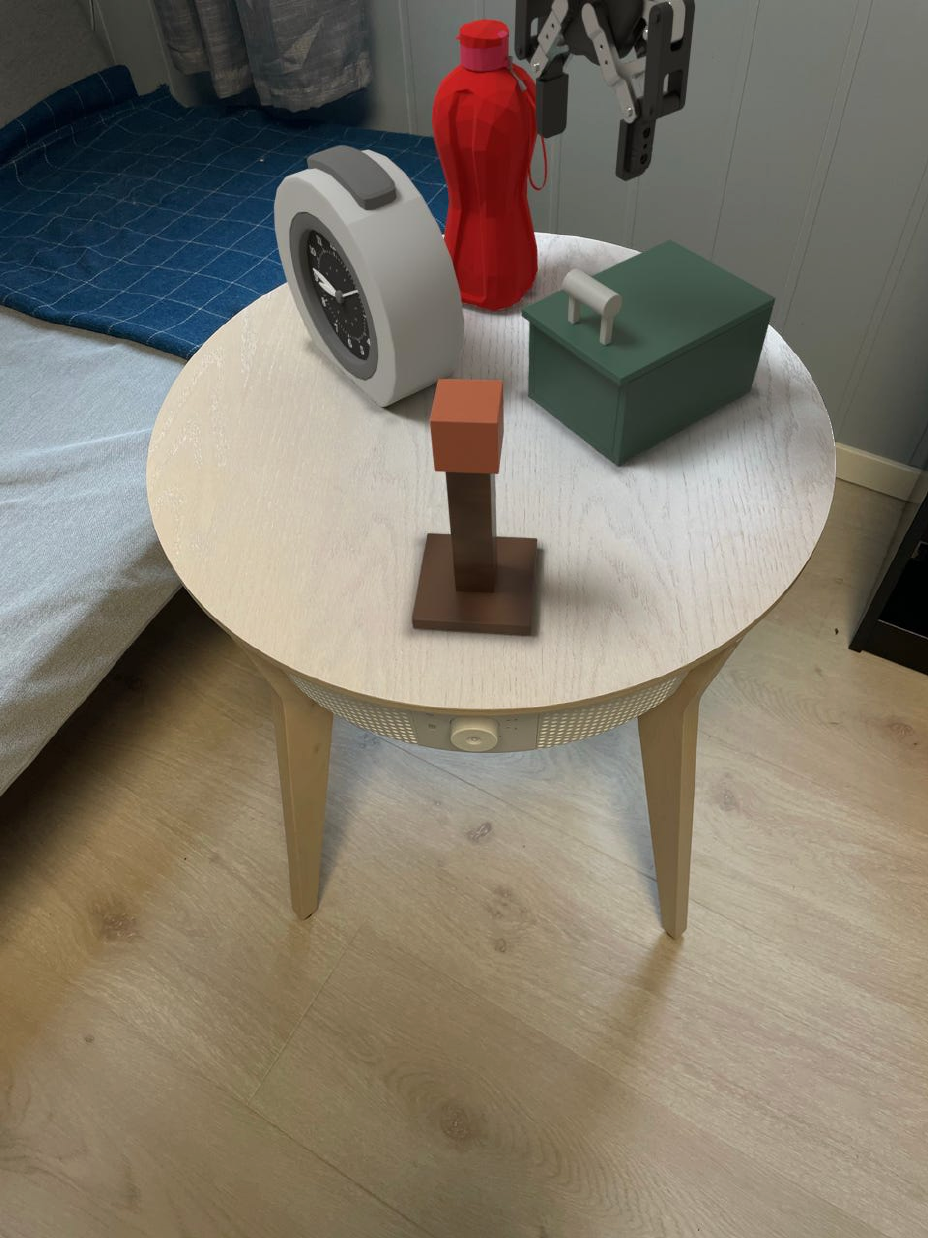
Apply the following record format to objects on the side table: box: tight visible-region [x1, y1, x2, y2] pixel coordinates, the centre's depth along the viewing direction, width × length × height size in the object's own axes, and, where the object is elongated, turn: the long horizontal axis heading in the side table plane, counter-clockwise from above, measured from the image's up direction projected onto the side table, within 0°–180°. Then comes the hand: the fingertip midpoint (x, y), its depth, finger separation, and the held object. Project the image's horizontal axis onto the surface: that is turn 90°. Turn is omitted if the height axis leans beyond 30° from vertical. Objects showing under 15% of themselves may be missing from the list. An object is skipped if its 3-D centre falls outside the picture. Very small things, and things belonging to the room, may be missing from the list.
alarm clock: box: [273, 144, 465, 408], centre depth 79 cm, size 21×8×20 cm, turn 36°
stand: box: [411, 472, 538, 636], centre depth 62 cm, size 9×9×14 cm
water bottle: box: [431, 18, 548, 312], centre depth 83 cm, size 9×11×25 cm
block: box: [429, 378, 505, 475], centre depth 55 cm, size 4×4×4 cm
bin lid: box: [520, 239, 777, 386], centre depth 72 cm, size 18×13×5 cm
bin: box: [527, 306, 774, 467], centre depth 78 cm, size 17×13×9 cm
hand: (589, 154), depth 59 cm, fingers open, 8 cm apart
